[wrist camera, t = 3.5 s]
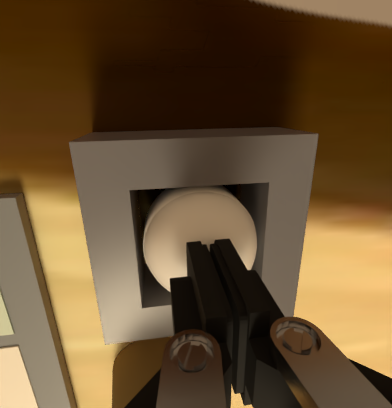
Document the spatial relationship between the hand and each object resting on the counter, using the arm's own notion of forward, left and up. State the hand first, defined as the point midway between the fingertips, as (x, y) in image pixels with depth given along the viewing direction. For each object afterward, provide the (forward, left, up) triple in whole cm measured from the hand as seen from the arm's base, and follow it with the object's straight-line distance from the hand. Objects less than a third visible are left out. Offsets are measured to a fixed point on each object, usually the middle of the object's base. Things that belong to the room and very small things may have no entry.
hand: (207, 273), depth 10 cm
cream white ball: (0, 0, -5) cm, 5 cm away
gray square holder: (0, 0, -6) cm, 6 cm away
